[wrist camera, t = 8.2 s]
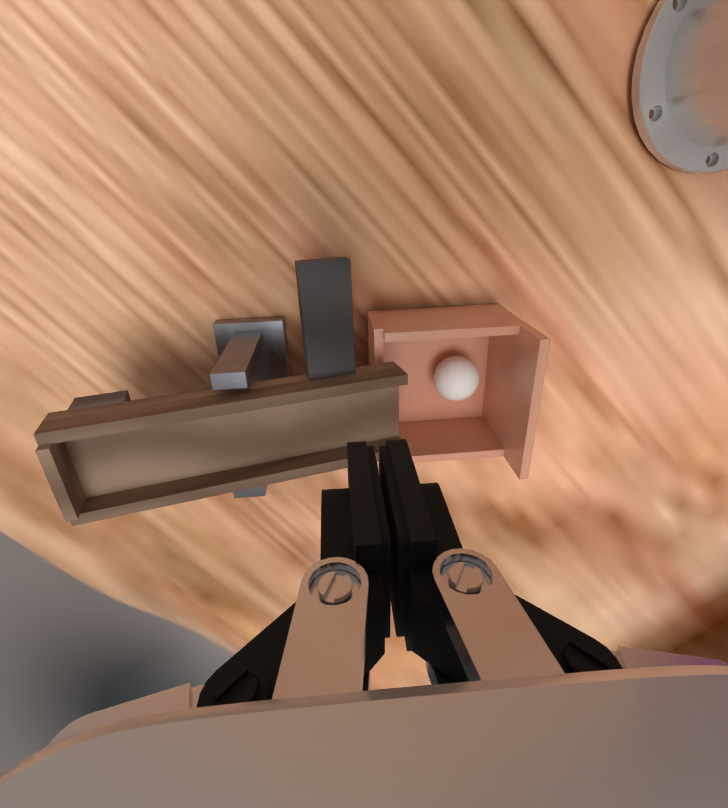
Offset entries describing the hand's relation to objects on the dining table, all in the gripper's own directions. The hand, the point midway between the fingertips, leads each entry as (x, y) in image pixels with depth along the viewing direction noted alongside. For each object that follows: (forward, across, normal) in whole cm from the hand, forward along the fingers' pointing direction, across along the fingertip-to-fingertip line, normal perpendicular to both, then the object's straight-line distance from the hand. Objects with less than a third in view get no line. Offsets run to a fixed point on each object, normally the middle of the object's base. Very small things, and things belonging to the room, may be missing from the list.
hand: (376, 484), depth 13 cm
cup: (+23, -7, +6) cm, 25 cm away
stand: (+23, +7, +6) cm, 25 cm away
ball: (+21, -8, +6) cm, 23 cm away
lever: (+15, +7, +6) cm, 17 cm away
